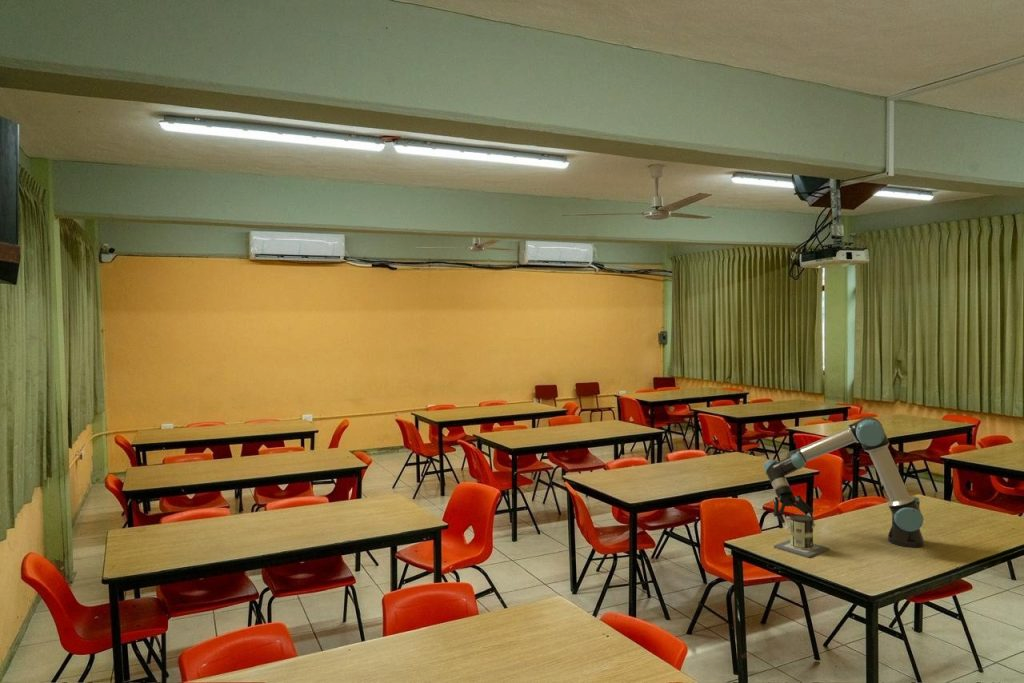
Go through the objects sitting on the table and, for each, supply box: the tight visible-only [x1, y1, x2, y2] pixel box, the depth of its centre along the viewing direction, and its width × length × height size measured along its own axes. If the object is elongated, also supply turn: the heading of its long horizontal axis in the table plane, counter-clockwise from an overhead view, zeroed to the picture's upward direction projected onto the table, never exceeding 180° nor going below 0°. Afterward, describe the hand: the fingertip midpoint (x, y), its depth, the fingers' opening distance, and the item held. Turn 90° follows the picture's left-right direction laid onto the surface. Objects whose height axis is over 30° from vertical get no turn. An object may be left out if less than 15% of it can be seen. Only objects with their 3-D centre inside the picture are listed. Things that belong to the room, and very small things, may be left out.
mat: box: [773, 539, 831, 559], centre depth 319 cm, size 18×18×1 cm
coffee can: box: [789, 513, 814, 550], centre depth 319 cm, size 10×10×14 cm
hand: (800, 527), depth 319 cm, fingers open, 13 cm apart
